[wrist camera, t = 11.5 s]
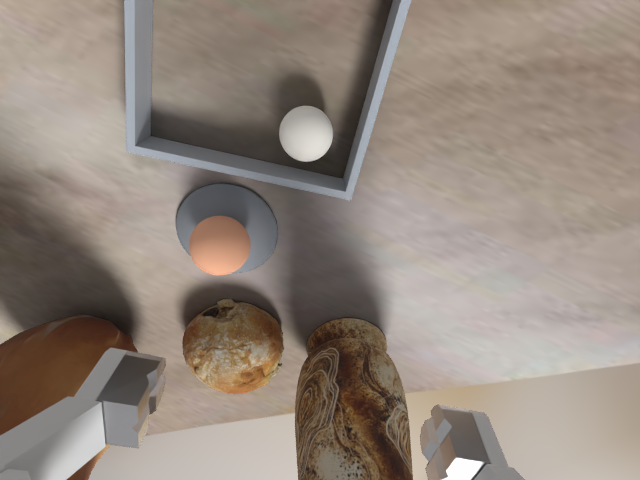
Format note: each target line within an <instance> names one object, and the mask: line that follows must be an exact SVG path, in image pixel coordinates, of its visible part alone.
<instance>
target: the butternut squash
mask: <svg viewBox="0 0 640 480" xmlns="http://www.w3.org/2000/svg"><path fill="white" fill-rule="evenodd" d="M109 348H116V349H121V350H127V351H132V352H137V350H136V348H135V346H134V345H133V343H132V338H131V337H130V336H128V335H126V334H124V333H122V332H121V331H119V330H118V329H117V328H116V327H115V325H114V324H113V323H112V322H111V321H109V320H105V319H102V318H97V317H93V316H89V315H74V316H70V317H65V318H62V319H58V320H55V321H52V322H49V323H45V324H42V325H40V326H37V327H34V328H31V329H28V330H26V331H23V332H21V333H19V334H17V335H15V336H13V337H12V338H10V339H9V340H7V341H5V342H4V343H2V344H0V436H1V435H2V434H4V433H6V432H8V431H9V430H11V429H13V428H14V427H16V426H18V425H20V424H21V423H23V422H25V421H26V420H28V419H30V418H32V417H33V416H35V415H37V414H39V413H40V412H42V411H44V410H45V409H47V408H49V407H51V406H52V405H54V404H56V403H57V402H59V401H61V400H63V399H64V398H66V397H68V396H69V397H74V396H75V395H76V393H77V392H78V390H79V389H80V387H81V386H82V384H83V383H84V382H85V380H86V379H87V377H88V376H89V374H90V373H91V372H92V370H93V369H94V367H95V366H96V364H97V363H98V362H99V360H100V359H101V357H102V356H103V354H104V353H105V352H106V351H107V350H108V349H109ZM137 353H138V352H137ZM110 446H111V445H107V444H106V447H105V448H103V449H102V450H101V451H100V452H99V453H97V454H96V455H95V456H94V457H93V458H92V459H90V460H89V461H88V462H87V463H86V464H84V465H83V466H82V467H81V468H80V469H78V470H77V471H76V472H75V473H74V474H73V475H71V476H70V477H69V478H68V479H67V480H88V479H89V476H90V474H91V471H92V469H93V468H94V466H95V464H96V463H97V461H98V460H99V459H100V457H101V456H102V455H103V454H104V452H105V451H106V450H107V449H108V448H109V447H110Z"/></svg>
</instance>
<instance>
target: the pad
mask: <svg viewBox="0 0 640 480" xmlns="http://www.w3.org/2000/svg"><path fill="white" fill-rule="evenodd" d="M213 216H227V217H231V218H233V219H235V220H237V221H238V222H239V223H241V224H242V225H243V227H244V228H245V229H246V231H247V232H248V235H249V238H250V244H251V247H250V253H249V256H248V258H247V260H246V262H245V263H244V264H243V265H242V267H240V268H239V269H238V270H236V271H235V272H233V273H242V272H247V271H250V270H252V269H255V268H257V267H258V266H260V265H261V264H263V263H264V262H265V261H266V260H267V259H268V258H269V257H270V255H271V254H272V252H273V250H274V248H275V245H276V242H277V235H278V231H277V223H276V220H275V217H274V215H273V213H272V211H271V209H270V208H269V206H268V205H267V204H266V203H265V202H264V201H263V200H262V199H261V198H260V197H259V196H258V195H256V194H255V193H253V192H251V191H250V190H248V189H246V188H243V187H241V186H237V185H233V184H222V183H219V184H211V185H207V186H204V187H201V188H199V189H197V190H196V191H194V192H193V193H191V194H190V195H189V196H188V197H187V198H186V199H185V201H184V202H183V203H182V205H181V207H180V209H179V211H178V214H177V219H176V230H177V235H178V238H179V240H180V243H181V245H182V246H183V248H184V249H185V251H186V252H187V253H188V254H189V255H190V252H189V239H190V236H191V234H192V232H193V230H194V228H195V227H196V226H197V225H198V224H199V223H200V222H202V221H203V220H205V219H207V218H209V217H213ZM190 256H191V255H190Z"/></svg>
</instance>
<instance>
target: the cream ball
mask: <svg viewBox="0 0 640 480" xmlns="http://www.w3.org/2000/svg"><path fill="white" fill-rule="evenodd" d="M279 137H280V142H281V145H282V147H283V148H284V150H285V151H286V153H287V154H288V155H290V156H291V157H292V158H294V159H296V160H299V161H304V162H309V161H314V160H317V159H319V158H320V157H322V156H323V155H324V154H325V153H326V152H327V151H328V149H329V148H330V146H331V143H332V139H333V128H332V125H331V122H330V120H329V118H328V117H327V116H326V114H325V113H323V112H322V111H321V110H319V109H318V108H315V107H312V106H300V107H296V108H294V109H292V110H291V111H290V112H288V113H287V114H286V116H285V117H284V118H283V120H282V122H281V125H280V130H279Z"/></svg>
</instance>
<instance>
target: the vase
mask: <svg viewBox="0 0 640 480" xmlns="http://www.w3.org/2000/svg"><path fill="white" fill-rule="evenodd" d="M386 350H387V343H386V338H385V336H384V335H383V333H382V332H381V330H379V329H378V328H377V327H376V326H374V325H372V324H371V323H369V322H367V321H364V320H361V319H354V318H342V319H337V320H332V321H329V322H327V323H325V324H323V325H321V326H320V327H318V328H317V329H316V330H315V331H314V332H313V333H312V334H311V335H310V337H309V339H308V341H307V354H308V357H307V359H306V361H305V362H304V364H303V366H302V369H301V372H300V376H299V380H298V386H297V393H296V405H295V431H296V432H295V433H296V450H297V466H298V480H413V474H412V459H411V444H410V430H409V419H408V412H407V405H406V400H405V394H404V390H403V386H402V382H401V379H400V377H399V374H398V372H397V369H396V367H395V365H394V363H393V361H392V360H391V358H390V357H389V355H388V354H387V353H386Z"/></svg>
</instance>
